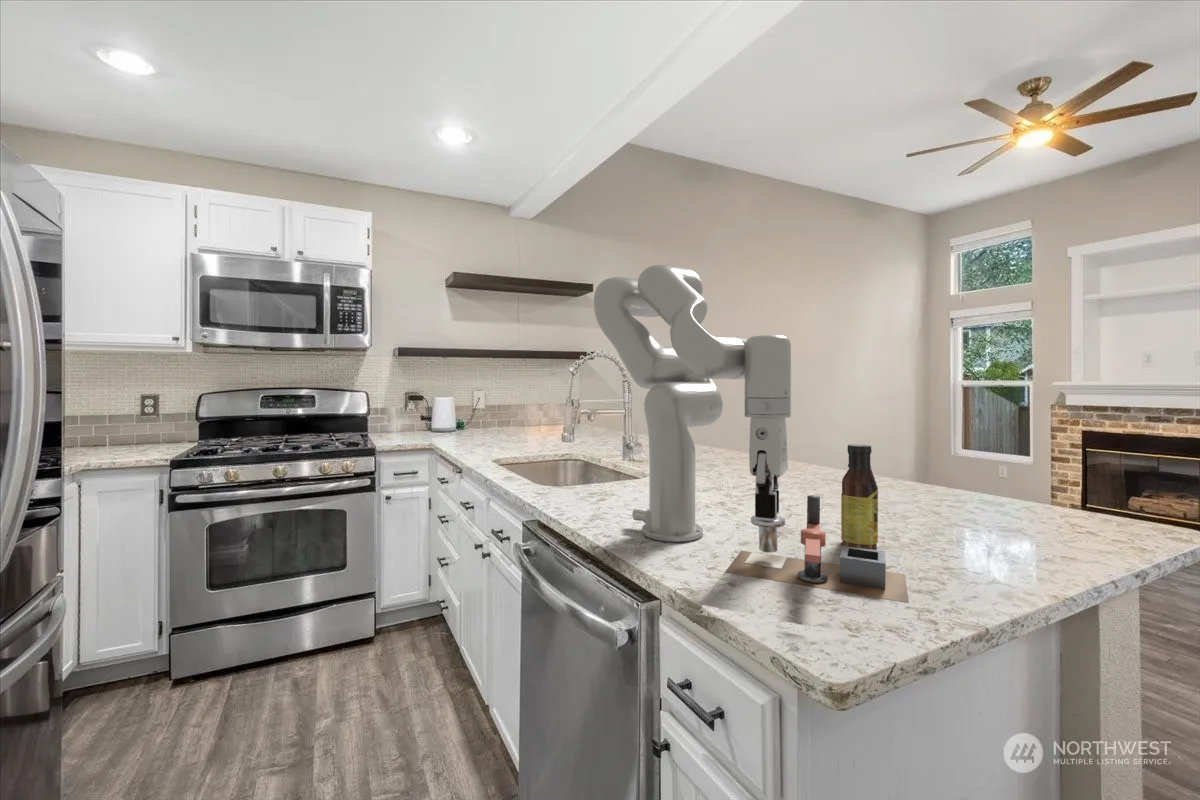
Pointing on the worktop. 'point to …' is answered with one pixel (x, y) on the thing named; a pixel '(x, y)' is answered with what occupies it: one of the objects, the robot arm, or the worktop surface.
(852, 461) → the sauce bottle
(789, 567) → the board
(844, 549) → the block
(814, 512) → the lever
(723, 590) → the worktop surface
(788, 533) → the worktop surface
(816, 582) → the pivot post
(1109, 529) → the worktop surface
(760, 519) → the peg
